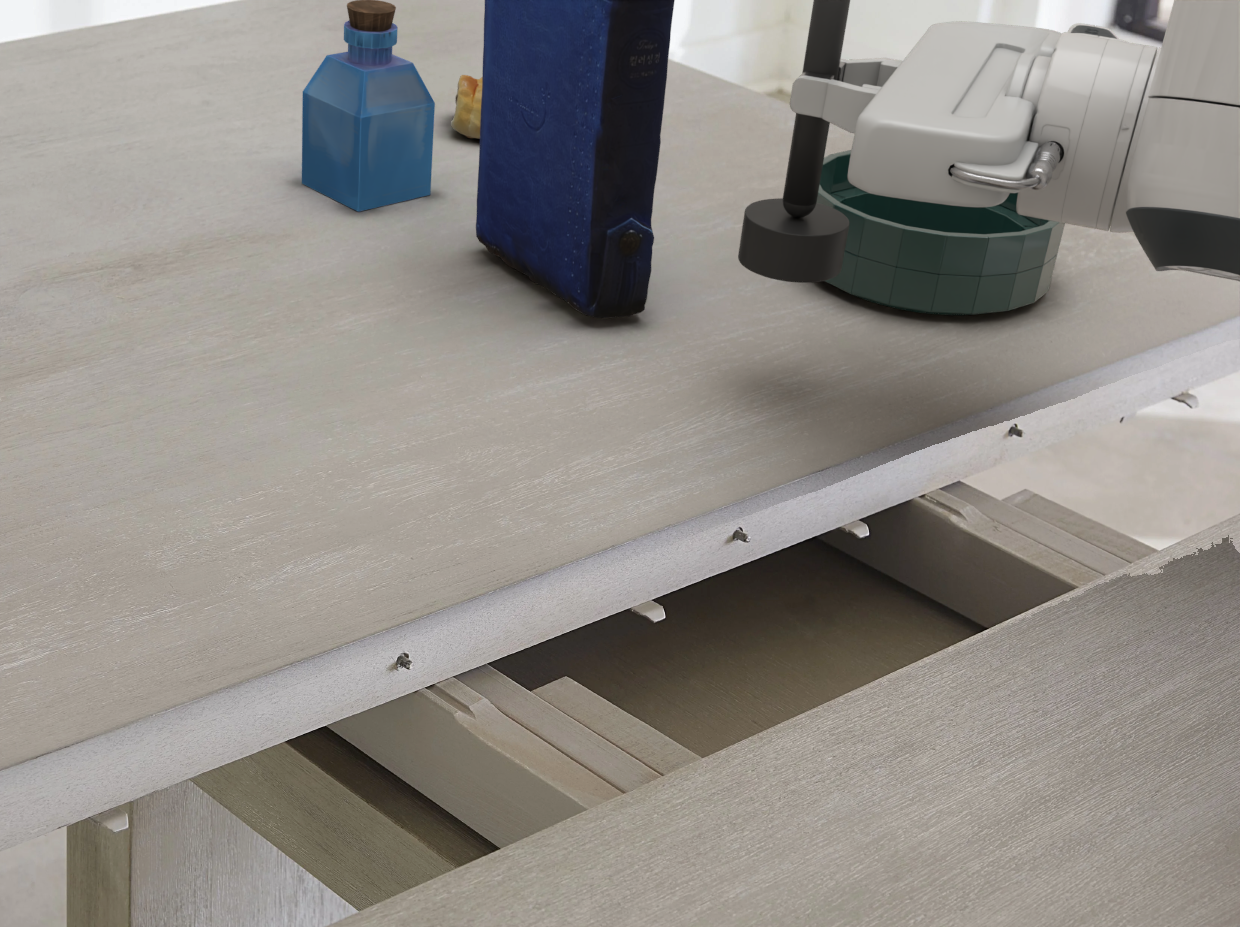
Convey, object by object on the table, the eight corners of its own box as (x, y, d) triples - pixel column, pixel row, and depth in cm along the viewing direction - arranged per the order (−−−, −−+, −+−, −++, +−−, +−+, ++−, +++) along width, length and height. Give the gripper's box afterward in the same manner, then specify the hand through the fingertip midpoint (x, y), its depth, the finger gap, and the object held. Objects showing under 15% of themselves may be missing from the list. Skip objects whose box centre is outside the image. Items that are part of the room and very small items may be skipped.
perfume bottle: (301, 183, 129) (303, 0, 122) (373, 167, 132) (379, -12, 125) (358, 211, 125) (363, 24, 118) (430, 194, 128) (439, 12, 122)
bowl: (1009, 233, 130) (1028, 153, 127) (1078, 329, 117) (1100, 243, 114) (776, 220, 129) (789, 140, 126) (819, 316, 116) (834, 229, 113)
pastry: (575, 122, 143) (579, 71, 141) (578, 152, 138) (583, 99, 136) (451, 113, 143) (453, 62, 141) (449, 143, 138) (452, 90, 135)
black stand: (830, 246, 105) (888, -87, 95) (850, 285, 101) (913, -60, 91) (731, 241, 105) (778, -94, 95) (746, 280, 100) (797, -68, 90)
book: (659, 320, 113) (702, -29, 102) (585, 334, 111) (621, -21, 100) (530, 237, 123) (556, -90, 112) (460, 249, 121) (479, -84, 109)
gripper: (1029, 258, 88) (740, 202, 91) (1081, 137, 104) (834, 94, 107) (1061, 122, 84) (759, 70, 88) (1110, 18, 100) (853, -23, 104)
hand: (801, 82), depth 98 cm, fingers closed on black stand
